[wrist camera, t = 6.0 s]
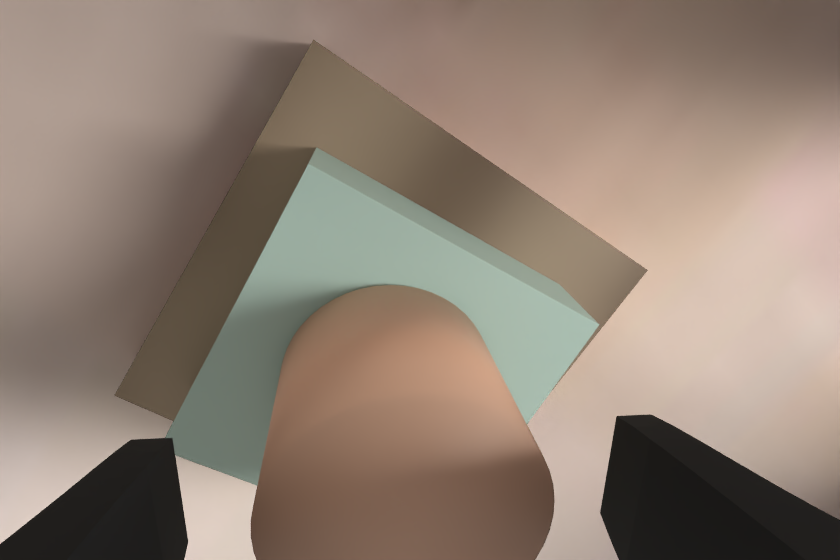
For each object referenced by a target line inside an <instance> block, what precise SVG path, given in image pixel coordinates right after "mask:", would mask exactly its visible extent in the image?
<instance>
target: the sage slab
mask: <svg viewBox="0 0 840 560" xmlns="http://www.w3.org/2000/svg"><path fill="white" fill-rule="evenodd" d="M382 285H401V286H409V287H414V288H419V289H422V290H426V291H429V292H432V293H434V294H436V295H438V296H441V297H443V298H445V299H446V300H448V301H449V302H451V303H453V304H454V305H456V306H457V307H458V308H459V309H460V310H461V311H463V312H464V313H465V314H466V315H467V316H468V318H469V319H470V320H471V321H472V322H473V323H474V325H475V326H476V328H477V329H478V331H479V333H480V334H481V336H482V338H483V340H484V342H485V344H486V346H487V348H488V350H489V352H490V354H491V356H492V358H493V360H494V362H495V364H496V366H497V367H498V369H499V371H500V373H501V375H502V377H503V379H504V381H505V383H506V385H507V387H508V389H509V391H510V393H511V395H512V397H513V399H514V401H515V403H516V405H517V406H518V408H519V410H520V412H521V414H522V416H523V418H524V420H525V422H526V424H528V422H529V421H530V419H531V418H532V417H533V415H534V414H535V413H536V411H537V410H538V408H539V407H540V406H541V404H542V403H543V402H544V400H545V399H546V397H547V396H548V395H549V393H550V392H551V391H552V389H553V388H554V386H555V385H556V384H557V382H558V381H559V380H560V378H561V377H562V375H563V374H564V373H565V371H566V370H567V369H568V367H569V366H570V364H571V363H572V362H573V360H574V359H575V358H576V356H577V355H578V353H579V352H580V351H581V349H582V348H583V347H584V345H585V344H586V343H587V341H588V340H589V338H590V337H591V336H592V334H593V333H594V332H595V330H596V329H597V327H598V326H599V324H598V323H597V322H596V321H595V320H594V319H593V318H592V317H591V316H590V315H589V314H588V313H587V312H586V311H585V310H584V309H583V308H582V307H581V306H580V305H579V304H578V303H577V302H576V301H575V299H574V298H573V297H572V296H571V295H570V294H569V293H568V292H567V291H566V290H565V289H564V288H563V287H562V286H561V285H560V284H558V283H556V282H554V281H553V280H551V279H549V278H547V277H546V276H544V275H542V274H540V273H538V272H537V271H535V270H533V269H531V268H530V267H528V266H526V265H524V264H523V263H521V262H519V261H517V260H515V259H514V258H512V257H510V256H508V255H507V254H505V253H503V252H501V251H499V250H498V249H496V248H494V247H492V246H491V245H489V244H487V243H485V242H484V241H482V240H480V239H478V238H476V237H475V236H473V235H471V234H469V233H468V232H466V231H464V230H462V229H461V228H459V227H457V226H455V225H453V224H452V223H450V222H448V221H446V220H445V219H443V218H441V217H439V216H437V215H436V214H434V213H432V212H430V211H429V210H427V209H425V208H423V207H422V206H420V205H418V204H416V203H414V202H413V201H411V200H409V199H407V198H406V197H404V196H402V195H400V194H399V193H397V192H395V191H393V190H391V189H390V188H388V187H386V186H384V185H383V184H381V183H379V182H377V181H376V180H374V179H372V178H370V177H368V176H367V175H365V174H363V173H361V172H360V171H358V170H356V169H354V168H352V167H351V166H349V165H347V164H345V163H344V162H342V161H340V160H338V159H337V158H335V157H333V156H331V155H329V154H328V153H326V152H324V151H322V150H321V149H319V148H316V150H315V151H314V153H313V155H312V157H311V159H310V161H309V163H308V165H307V167H306V169H305V171H304V172H303V174H302V176H301V178H300V180H299V182H298V184H297V186H296V188H295V190H294V192H293V194H292V195H291V197H290V199H289V201H288V203H287V205H286V207H285V209H284V211H283V213H282V215H281V216H280V218H279V220H278V222H277V224H276V226H275V228H274V230H273V232H272V234H271V236H270V237H269V239H268V241H267V243H266V245H265V247H264V249H263V251H262V253H261V255H260V257H259V259H258V260H257V262H256V264H255V266H254V268H253V270H252V272H251V274H250V276H249V278H248V280H247V281H246V283H245V285H244V287H243V289H242V291H241V293H240V295H239V297H238V299H237V301H236V303H235V304H234V306H233V308H232V310H231V312H230V314H229V316H228V318H227V320H226V322H225V324H224V325H223V327H222V329H221V331H220V333H219V335H218V337H217V339H216V341H215V343H214V345H213V346H212V348H211V350H210V352H209V354H208V356H207V358H206V360H205V362H204V364H203V366H202V368H201V369H200V371H199V373H198V375H197V377H196V379H195V381H194V383H193V385H192V387H191V389H190V390H189V392H188V394H187V396H186V398H185V400H184V402H183V404H182V406H181V408H180V410H179V412H178V414H177V416H176V418H175V420H174V421H173V423H172V425H171V427H170V429H169V431H168V433H167V435H166V437H165V438H173V445H174V451H175V455H176V456H179V457H182V458H184V459H187V460H190V461H192V462H195V463H198V464H200V465H203V466H206V467H209V468H211V469H214V470H217V471H219V472H222V473H225V474H228V475H230V476H233V477H236V478H238V479H241V480H244V481H246V482H249V483H252V484H255V485H258V480H259V475H260V471H261V466H262V461H263V456H264V451H265V446H266V441H267V436H268V431H269V426H270V421H271V416H272V411H273V406H274V401H275V396H276V391H277V386H278V381H279V376H280V371H281V366H282V361H283V358H284V355H285V352H286V349H287V347H288V345H289V343H290V341H291V340H292V338H293V336H294V335H295V333H296V332H297V330H298V329H299V328H300V326H301V325H302V324H303V323H304V322H305V321H306V320H307V319H308V318H309V317H310V316H311V315H312V314H313V313H314V312H316V311H317V310H318V309H319V308H320V307H322V306H323V305H325V304H327V303H328V302H330V301H331V300H333V299H335V298H337V297H340V296H342V295H344V294H346V293H349V292H352V291H355V290H358V289H362V288H367V287H372V286H382Z"/></svg>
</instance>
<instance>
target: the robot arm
mask: <svg viewBox="0 0 840 560" xmlns="http://www.w3.org/2000/svg"><path fill="white" fill-rule="evenodd" d="M600 514H601V516H602V519H603V521H604V524H605V526H606V529H607V532H608V534H609V537H610V539H611V542H612V544H613V547H614V549H615V551H616V554H617V556H618V558H619V560H840V520H839V519H837V518H835V517H833V516H831V515H829V514H827V513H825V512H823V511H821V510H820V509H818V508H816V507H814V506H812V505H811V504H809V503H807V502H805V501H803V500H801V499H800V498H798V497H796V496H794V495H792V494H791V493H789V492H787V491H785V490H784V489H782V488H780V487H778V486H777V485H775V484H773V483H771V482H770V481H768V480H766V479H764V478H763V477H761V476H759V475H757V474H756V473H754V472H752V471H750V470H749V469H747V468H745V467H744V466H742V465H740V464H738V463H737V462H735V461H733V460H732V459H730V458H728V457H726V456H725V455H723V454H721V453H720V452H718V451H716V450H715V449H713V448H711V447H709V446H708V445H706V444H704V443H703V442H701V441H699V440H697V439H696V438H694V437H692V436H690V435H689V434H687V433H685V432H683V431H682V430H680V429H678V428H676V427H674V426H673V425H671V424H669V423H667V422H665V421H663V420H661V419H659V418H657V417H655V416H653V415H632V416H617V417H616V423H615V429H614V435H613V441H612V447H611V453H610V459H609V464H608V470H607V476H606V482H605V488H604V494H603V500H602V506H601V512H600ZM187 545H188V538H187V531H186V525H185V518H184V511H183V505H182V498H181V491H180V485H179V478H178V471H177V465H176V458H175V451H174V445H173V438H158V439H138V440H130V441H129V442H127V443H126V444H125V445H123V446H122V447H121V448H119V449H118V450H117V451H115V452H114V453H113V454H112V455H110V456H109V457H108V458H107V459H105V460H104V461H103V462H102V463H100V464H99V465H98V466H97V467H96V468H94V469H93V470H92V471H91V472H89V473H88V474H87V475H86V476H85V477H83V478H82V479H81V480H80V481H78V482H77V483H76V484H75V485H74V486H72V487H71V488H70V489H69V490H67V491H66V492H65V493H64V494H62V495H61V496H60V497H59V498H57V499H56V500H55V501H54V502H52V503H51V504H50V505H49V506H47V507H46V508H45V509H44V510H42V511H41V512H40V513H39V514H37V515H36V516H35V517H34V518H32V519H31V520H30V521H29V522H27V523H26V524H25V525H24V526H22V527H21V528H20V529H19V530H17V531H16V532H15V533H14V534H12V535H11V536H10V537H9V538H7V539H6V540H5V541H4V542H2V543H1V544H0V560H184V558H185V553H186V549H187Z"/></svg>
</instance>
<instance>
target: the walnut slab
mask: <svg viewBox="0 0 840 560" xmlns="http://www.w3.org/2000/svg"><path fill="white" fill-rule="evenodd" d="M316 148H319V149H321V150H322V151H324V152H326V153H328V154H329V155H331V156H333V157H335V158H337V159H338V160H340V161H342V162H344V163H345V164H347V165H349V166H351V167H352V168H354V169H356V170H358V171H360V172H361V173H363V174H365V175H367V176H368V177H370V178H372V179H374V180H376V181H377V182H379V183H381V184H383V185H384V186H386V187H388V188H390V189H391V190H393V191H395V192H397V193H399V194H400V195H402V196H404V197H406V198H407V199H409V200H411V201H413V202H414V203H416V204H418V205H420V206H422V207H423V208H425V209H427V210H429V211H430V212H432V213H434V214H436V215H437V216H439V217H441V218H443V219H445V220H446V221H448V222H450V223H452V224H453V225H455V226H457V227H459V228H461V229H462V230H464V231H466V232H468V233H469V234H471V235H473V236H475V237H476V238H478V239H480V240H482V241H484V242H485V243H487V244H489V245H491V246H492V247H494V248H496V249H498V250H499V251H501V252H503V253H505V254H507V255H508V256H510V257H512V258H514V259H515V260H517V261H519V262H521V263H523V264H524V265H526V266H528V267H530V268H531V269H533V270H535V271H537V272H538V273H540V274H542V275H544V276H546V277H547V278H549V279H551V280H553V281H554V282H556V283H558V284H560V285H561V286H562V287H563V288H564V289H565V290H566V291H567V292H568V293H569V294H570V295H571V296H572V297H573V298H574V299H575V301H576V302H577V303H578V304H579V305H580V306H581V307H582V308H583V309H584V310H585V311H586V312H587V313H588V314H589V315H590V316H591V317H592V318H593V319H594V320H595V321H596V322H597V323H598V324H599V326H598V327H597V329H596V330H595V332H594V333H593V334H592V336H591V337H590V338H589V340H588V341H587V343H586V344H585V345H584V347H583V348H582V349H581V351H580V352H579V353H578V355H577V356H576V358H575V359H574V360H573V362H572V363H571V364H570V366H569V367H568V369H567V370H566V371H565V373H566V372H567V371H568V370H569V368H570V367H571V366H572V365H573V363H574V362H575V361H576V360H577V358H578V357H579V356H580V355H581V353H582V352H583V351H584V350H585V348H586V347H587V346H588V344H589V343H590V342H591V341H592V339H593V338H594V337H595V336H596V334H597V333H598V332H599V331H600V329H601V328H602V327H603V326H604V324H605V323H606V322H607V321H608V319H609V318H610V317H611V316H612V314H613V313H614V312H615V311H616V309H617V308H618V307H619V306H620V304H621V303H622V302H623V300H624V299H625V298H626V297H627V295H628V294H629V293H630V292H631V290H632V289H633V288H634V287H635V285H636V284H637V283H638V282H639V280H640V279H641V278H642V277H643V275H644V274H645V273H646V272H647V269H645V268H644V267H642V266H641V265H639V264H638V263H636V262H635V261H634V260H632V259H631V258H629V257H628V256H626V255H625V254H623V253H622V252H620V251H619V250H618V249H616V248H615V247H613V246H612V245H610V244H609V243H607V242H606V241H605V240H603V239H602V238H600V237H599V236H597V235H596V234H594V233H593V232H591V231H590V230H589V229H587V228H586V227H584V226H583V225H581V224H580V223H578V222H577V221H576V220H574V219H573V218H571V217H570V216H568V215H567V214H565V213H564V212H562V211H561V210H560V209H558V208H557V207H555V206H554V205H552V204H551V203H549V202H548V201H547V200H545V199H544V198H542V197H541V196H539V195H538V194H536V193H535V192H533V191H532V190H531V189H529V188H528V187H526V186H525V185H523V184H522V183H520V182H519V181H518V180H516V179H515V178H513V177H512V176H510V175H509V174H507V173H506V172H504V171H503V170H502V169H500V168H499V167H497V166H496V165H494V164H493V163H491V162H490V161H489V160H487V159H486V158H484V157H483V156H481V155H480V154H478V153H477V152H475V151H474V150H473V149H471V148H470V147H468V146H467V145H465V144H464V143H462V142H461V141H460V140H458V139H457V138H455V137H454V136H452V135H451V134H449V133H448V132H446V131H445V130H444V129H442V128H441V127H439V126H438V125H436V124H435V123H433V122H432V121H431V120H429V119H428V118H426V117H425V116H423V115H422V114H420V113H419V112H417V111H416V110H415V109H413V108H412V107H410V106H409V105H407V104H406V103H404V102H403V101H402V100H400V99H399V98H397V97H396V96H394V95H393V94H391V93H390V92H388V91H387V90H386V89H384V88H383V87H381V86H380V85H378V84H377V83H375V82H374V81H373V80H371V79H370V78H368V77H367V76H365V75H364V74H362V73H361V72H359V71H358V70H357V69H355V68H354V67H352V66H351V65H349V64H348V63H346V62H345V61H344V60H342V59H341V58H339V57H338V56H336V55H335V54H333V53H332V52H330V51H329V50H328V49H326V48H325V47H323V46H322V45H320V44H319V43H317V42H316V41H315V40H313V42H312V44H311V45H310V47H309V49H308V51H307V52H306V54H305V56H304V58H303V60H302V61H301V63H300V65H299V67H298V69H297V70H296V72H295V74H294V76H293V77H292V79H291V81H290V83H289V85H288V86H287V88H286V90H285V92H284V94H283V95H282V97H281V99H280V101H279V102H278V104H277V106H276V108H275V110H274V111H273V113H272V115H271V117H270V119H269V120H268V122H267V124H266V126H265V127H264V129H263V131H262V133H261V135H260V136H259V138H258V140H257V142H256V144H255V145H254V147H253V149H252V151H251V153H250V154H249V156H248V158H247V160H246V161H245V163H244V165H243V167H242V169H241V170H240V172H239V174H238V176H237V178H236V179H235V181H234V183H233V185H232V186H231V188H230V190H229V192H228V194H227V195H226V197H225V199H224V201H223V203H222V204H221V206H220V208H219V210H218V211H217V213H216V215H215V217H214V219H213V220H212V222H211V224H210V226H209V228H208V229H207V231H206V233H205V235H204V236H203V238H202V240H201V242H200V244H199V245H198V247H197V249H196V251H195V253H194V254H193V256H192V258H191V260H190V261H189V263H188V265H187V267H186V269H185V270H184V272H183V274H182V276H181V278H180V279H179V281H178V283H177V285H176V287H175V288H174V290H173V292H172V294H171V295H170V297H169V299H168V301H167V303H166V304H165V306H164V308H163V310H162V312H161V313H160V315H159V317H158V319H157V320H156V322H155V324H154V326H153V328H152V329H151V331H150V333H149V335H148V337H147V338H146V340H145V342H144V344H143V345H142V347H141V349H140V351H139V353H138V354H137V356H136V358H135V360H134V362H133V363H132V365H131V367H130V369H129V370H128V372H127V374H126V376H125V378H124V379H123V381H122V383H121V385H120V387H119V388H118V390H117V392H116V394H115V396H117V397H119V398H122V399H124V400H126V401H128V402H131V403H133V404H135V405H138V406H140V407H142V408H145V409H147V410H149V411H152V412H154V413H156V414H159V415H161V416H163V417H165V418H168V419H170V420H172V421H174V420H175V418H176V416H177V414H178V412H179V410H180V408H181V406H182V404H183V402H184V400H185V398H186V396H187V394H188V392H189V390H190V389H191V387H192V385H193V383H194V381H195V379H196V377H197V375H198V373H199V371H200V369H201V368H202V366H203V364H204V362H205V360H206V358H207V356H208V354H209V352H210V350H211V348H212V346H213V345H214V343H215V341H216V339H217V337H218V335H219V333H220V331H221V329H222V327H223V325H224V324H225V322H226V320H227V318H228V316H229V314H230V312H231V310H232V308H233V306H234V304H235V303H236V301H237V299H238V297H239V295H240V293H241V291H242V289H243V287H244V285H245V283H246V281H247V280H248V278H249V276H250V274H251V272H252V270H253V268H254V266H255V264H256V262H257V260H258V259H259V257H260V255H261V253H262V251H263V249H264V247H265V245H266V243H267V241H268V239H269V237H270V236H271V234H272V232H273V230H274V228H275V226H276V224H277V222H278V220H279V218H280V216H281V215H282V213H283V211H284V209H285V207H286V205H287V203H288V201H289V199H290V197H291V195H292V194H293V192H294V190H295V188H296V186H297V184H298V182H299V180H300V178H301V176H302V174H303V172H304V171H305V169H306V167H307V165H308V163H309V161H310V159H311V157H312V155H313V153H314V151H315V150H316ZM565 373H564V374H563V375H562V377H563V376H564V375H565ZM562 377H561V378H562ZM561 378H560V380H561ZM560 380H559V381H560ZM559 381H558V382H559ZM558 382H557V383H558ZM556 385H557V384H556ZM556 385H555V386H556ZM555 386H554V387H555ZM552 390H553V389H552ZM549 394H550V393H549Z"/></svg>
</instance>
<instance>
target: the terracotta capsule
mask: <svg viewBox="0 0 840 560" xmlns="http://www.w3.org/2000/svg"><path fill="white" fill-rule="evenodd" d="M553 512H554V489H553V483H552V479H551V475H550V471H549V468H548V466H547V464H546V462H545V459H544V457H543V455H542V453H541V451H540V449H539V447H538V445H537V444H536V442H535V440H534V438H533V436H532V434H531V432H530V430H529V428H528V426H527V424H526V422H525V420H524V418H523V416H522V414H521V412H520V410H519V408H518V406H517V405H516V403H515V401H514V399H513V397H512V395H511V393H510V391H509V389H508V387H507V385H506V383H505V381H504V379H503V377H502V375H501V373H500V371H499V369H498V367H497V366H496V364H495V362H494V360H493V358H492V356H491V354H490V352H489V350H488V348H487V346H486V344H485V342H484V340H483V338H482V336H481V334H480V333H479V331H478V329H477V328H476V326H475V325H474V323H473V322H472V321H471V320H470V319H469V318H468V316H467V315H466V314H465V313H464V312H463V311H461V310H460V309H459V308H458V307H457V306H456V305H454V304H453V303H451V302H449V301H448V300H446V299H445V298H443V297H441V296H438V295H436V294H434V293H432V292H429V291H426V290H422V289H419V288H414V287H409V286H401V285H382V286H372V287H367V288H362V289H358V290H355V291H352V292H349V293H346V294H344V295H342V296H340V297H337V298H335V299H333V300H331V301H330V302H328V303H327V304H325V305H323V306H322V307H320V308H319V309H318V310H317V311H316V312H314V313H313V314H312V315H311V316H310V317H309V318H308V319H307V320H306V321H305V322H304V323H303V324H302V325H301V326H300V328H299V329H298V330H297V332H296V333H295V335H294V336H293V338H292V340H291V341H290V343H289V345H288V347H287V349H286V352H285V355H284V358H283V361H282V366H281V371H280V376H279V381H278V386H277V391H276V396H275V401H274V406H273V411H272V416H271V421H270V426H269V431H268V436H267V441H266V446H265V451H264V456H263V461H262V466H261V471H260V475H259V480H258V485H257V490H256V495H255V500H254V505H253V511H252V517H251V540H252V545H253V551H254V554H255V557H256V560H535V559H536V557H537V556H538V554H539V552H540V550H541V549H542V547H543V545H544V543H545V540H546V538H547V535H548V533H549V530H550V526H551V522H552V518H553Z"/></svg>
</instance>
